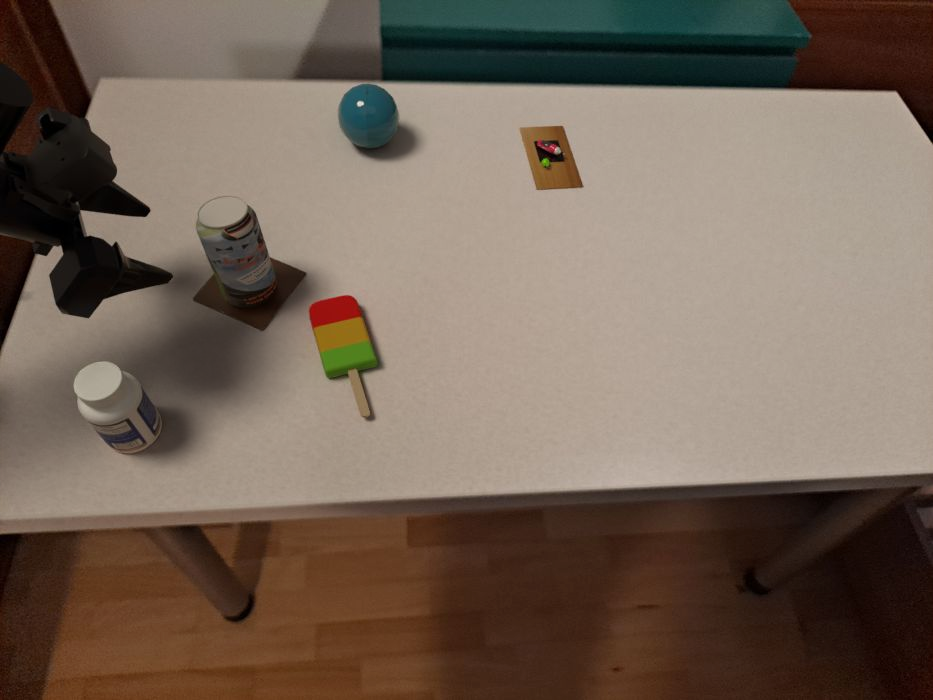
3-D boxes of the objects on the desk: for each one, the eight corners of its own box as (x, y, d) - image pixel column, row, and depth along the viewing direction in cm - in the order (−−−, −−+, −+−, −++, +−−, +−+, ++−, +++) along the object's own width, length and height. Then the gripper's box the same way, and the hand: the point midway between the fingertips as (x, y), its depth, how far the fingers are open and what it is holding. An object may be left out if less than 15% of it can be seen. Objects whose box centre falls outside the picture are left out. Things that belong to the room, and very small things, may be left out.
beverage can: (246, 324, 75) (221, 251, 65) (205, 285, 77) (175, 209, 67) (292, 292, 77) (275, 218, 67) (251, 256, 80) (229, 179, 70)
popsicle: (355, 300, 78) (354, 290, 76) (392, 413, 71) (392, 404, 69) (307, 311, 77) (305, 301, 75) (339, 427, 69) (338, 419, 68)
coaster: (262, 331, 75) (262, 329, 75) (193, 300, 76) (192, 298, 76) (306, 274, 80) (305, 272, 79) (240, 246, 81) (239, 244, 81)
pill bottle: (134, 396, 69) (98, 344, 61) (174, 422, 68) (144, 372, 60) (92, 437, 67) (49, 388, 59) (134, 464, 66) (96, 418, 57)
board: (536, 189, 90) (538, 181, 89) (519, 128, 96) (520, 119, 95) (582, 187, 91) (585, 178, 90) (562, 126, 97) (564, 118, 96)
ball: (400, 122, 95) (400, 71, 88) (398, 162, 91) (398, 112, 84) (341, 120, 94) (337, 68, 88) (337, 160, 90) (332, 109, 83)
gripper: (41, 199, 47) (232, 257, 60) (4, 45, 56) (179, 124, 68) (-27, 303, 52) (165, 336, 64) (-51, 145, 60) (123, 202, 73)
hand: (159, 244), depth 67 cm, fingers open, 9 cm apart
